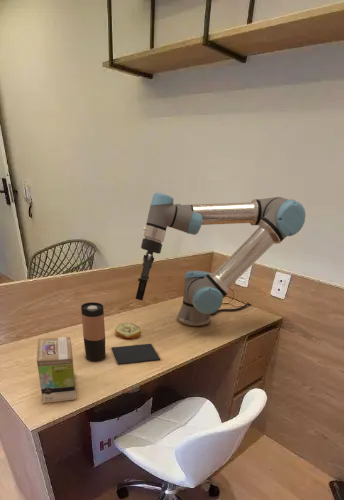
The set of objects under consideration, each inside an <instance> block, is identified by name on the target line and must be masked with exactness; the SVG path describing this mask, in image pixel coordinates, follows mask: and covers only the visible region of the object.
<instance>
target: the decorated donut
mask: <svg viewBox="0 0 344 500" xmlns="http://www.w3.org/2000/svg"><path fill="white" fill-rule="evenodd" d="M114 332H115V333H116V335H117V337H120V338H124V339H130V340H131V339H135V338H139V337H140V335H141V332H142V330H141V328H140V326H139V325H137V324H135V323H133V322H121V323H119V324H117V325H115V326H114Z"/></svg>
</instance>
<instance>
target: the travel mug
mask: <svg viewBox="0 0 344 500" xmlns="http://www.w3.org/2000/svg"><path fill="white" fill-rule="evenodd" d="M80 310H81V322H82V336H83V343H84V344H83V345H84V351H85V352H84V353H85V358H86V359H85V360H87V361H89V362H92V363H93V362H94V363H96V362H97V363H98V362H102V361H103V360H105V359H106V330H105V329H106V328H105V327H106V326H105V311H104V305H103V304H102V303H101V302H96V301H95V302H93V301H92V302H85V303H83V304H81V305H80Z"/></svg>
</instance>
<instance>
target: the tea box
mask: <svg viewBox="0 0 344 500" xmlns="http://www.w3.org/2000/svg"><path fill="white" fill-rule="evenodd" d="M36 351H37V352H36V364H37V365H36V366H37V372H38V379H39V384H40V385H39V386H40V391H41V397H42V402H43V404H46V403H47V404H48V403H57V402H58V403H59V402H67V401H74V400H76V399H77V394H76V393H77V392H76V378H75V368H74V358H73V357H74V356H73V349H72V341H71V337H70V336H64V337H62V336H60V337H43V338H38V339H37V350H36Z"/></svg>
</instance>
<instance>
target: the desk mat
mask: <svg viewBox="0 0 344 500" xmlns="http://www.w3.org/2000/svg"><path fill="white" fill-rule="evenodd" d="M111 351H112V352H113V355H114V357H115V360H116V363H117V365H118V366H122V365H129V364H140V363H148V362H158V361H161V358H160V356H159V355H158V352H157V351H156V349H155V348H154V346H153V345H152V343H143V344H133V345H122V346H112V347H111Z"/></svg>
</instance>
